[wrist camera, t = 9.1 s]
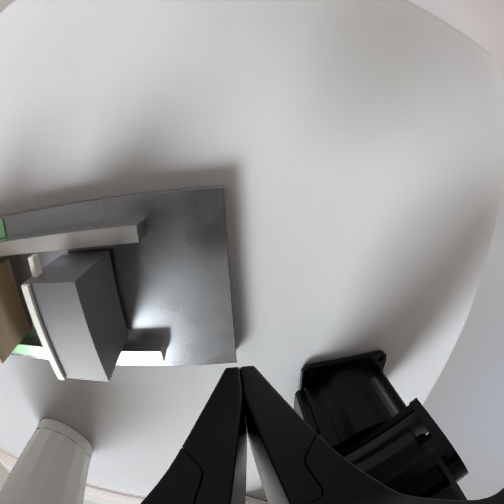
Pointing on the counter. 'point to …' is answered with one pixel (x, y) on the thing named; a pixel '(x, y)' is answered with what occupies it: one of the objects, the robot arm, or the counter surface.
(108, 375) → the plunger
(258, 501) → the light bulb box
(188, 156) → the counter surface
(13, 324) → the block
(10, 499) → the cup
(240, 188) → the counter surface
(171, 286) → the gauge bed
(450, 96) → the counter surface
